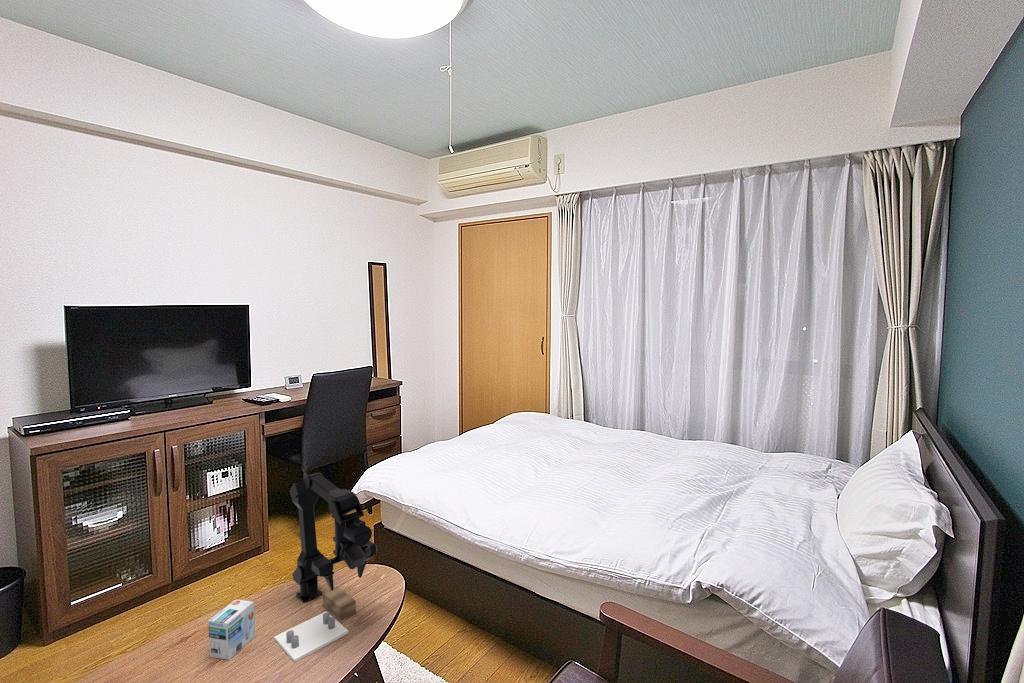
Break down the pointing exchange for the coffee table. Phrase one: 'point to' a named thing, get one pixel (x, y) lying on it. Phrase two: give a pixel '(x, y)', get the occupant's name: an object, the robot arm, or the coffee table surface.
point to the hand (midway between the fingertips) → (346, 583)
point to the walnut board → (339, 603)
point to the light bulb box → (231, 629)
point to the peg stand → (310, 636)
